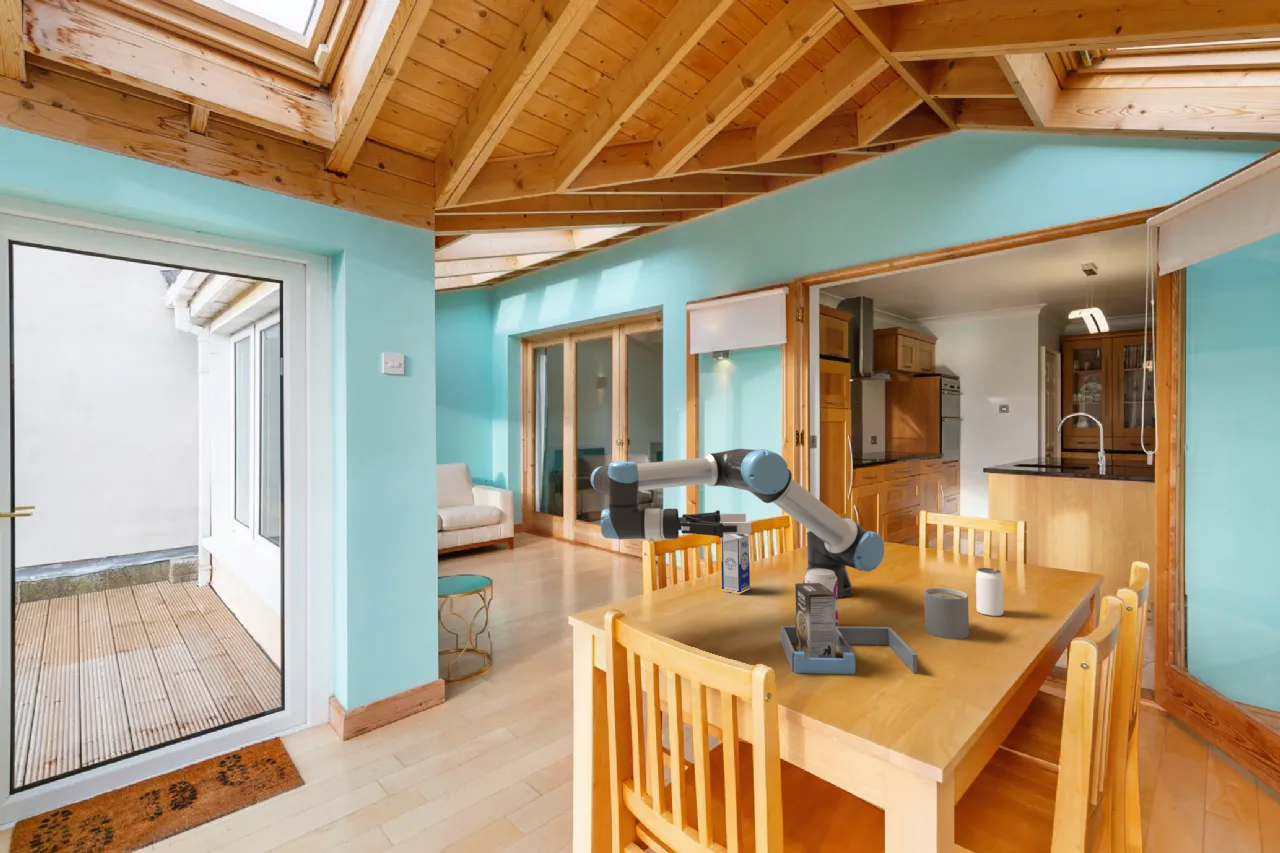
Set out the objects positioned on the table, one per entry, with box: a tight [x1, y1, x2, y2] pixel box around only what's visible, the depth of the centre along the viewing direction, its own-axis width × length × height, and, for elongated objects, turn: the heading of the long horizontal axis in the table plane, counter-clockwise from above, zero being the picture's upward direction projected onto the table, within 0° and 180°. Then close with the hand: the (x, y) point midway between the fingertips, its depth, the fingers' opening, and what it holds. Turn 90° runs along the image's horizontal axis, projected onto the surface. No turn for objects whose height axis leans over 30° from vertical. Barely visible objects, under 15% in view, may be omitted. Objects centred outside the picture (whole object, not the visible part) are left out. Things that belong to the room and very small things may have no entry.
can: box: [975, 567, 1004, 617], centre depth 162 cm, size 6×6×12 cm
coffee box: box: [794, 582, 837, 658], centre depth 134 cm, size 9×6×16 cm
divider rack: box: [779, 625, 918, 675], centre depth 133 cm, size 18×26×4 cm
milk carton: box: [720, 534, 751, 592], centre depth 188 cm, size 7×7×20 cm
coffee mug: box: [923, 587, 970, 640], centre depth 150 cm, size 13×10×10 cm
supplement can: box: [804, 568, 839, 627], centre depth 153 cm, size 8×8×15 cm
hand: (748, 523), depth 143 cm, fingers open, 13 cm apart
